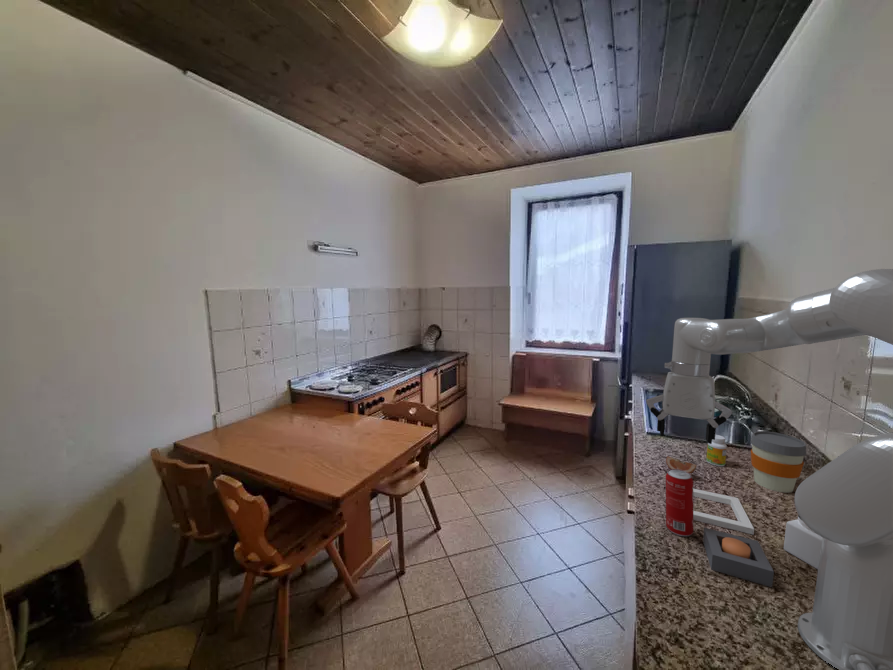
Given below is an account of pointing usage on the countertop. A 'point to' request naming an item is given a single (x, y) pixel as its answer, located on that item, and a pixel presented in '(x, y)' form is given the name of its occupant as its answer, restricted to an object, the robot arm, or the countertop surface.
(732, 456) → the countertop surface
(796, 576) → the countertop surface
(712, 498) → the white picture frame
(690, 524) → the beverage can
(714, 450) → the supplement bottle
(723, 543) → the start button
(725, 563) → the grey square holder
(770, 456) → the reusable coffee cup
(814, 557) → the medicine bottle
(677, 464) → the fruit slice
